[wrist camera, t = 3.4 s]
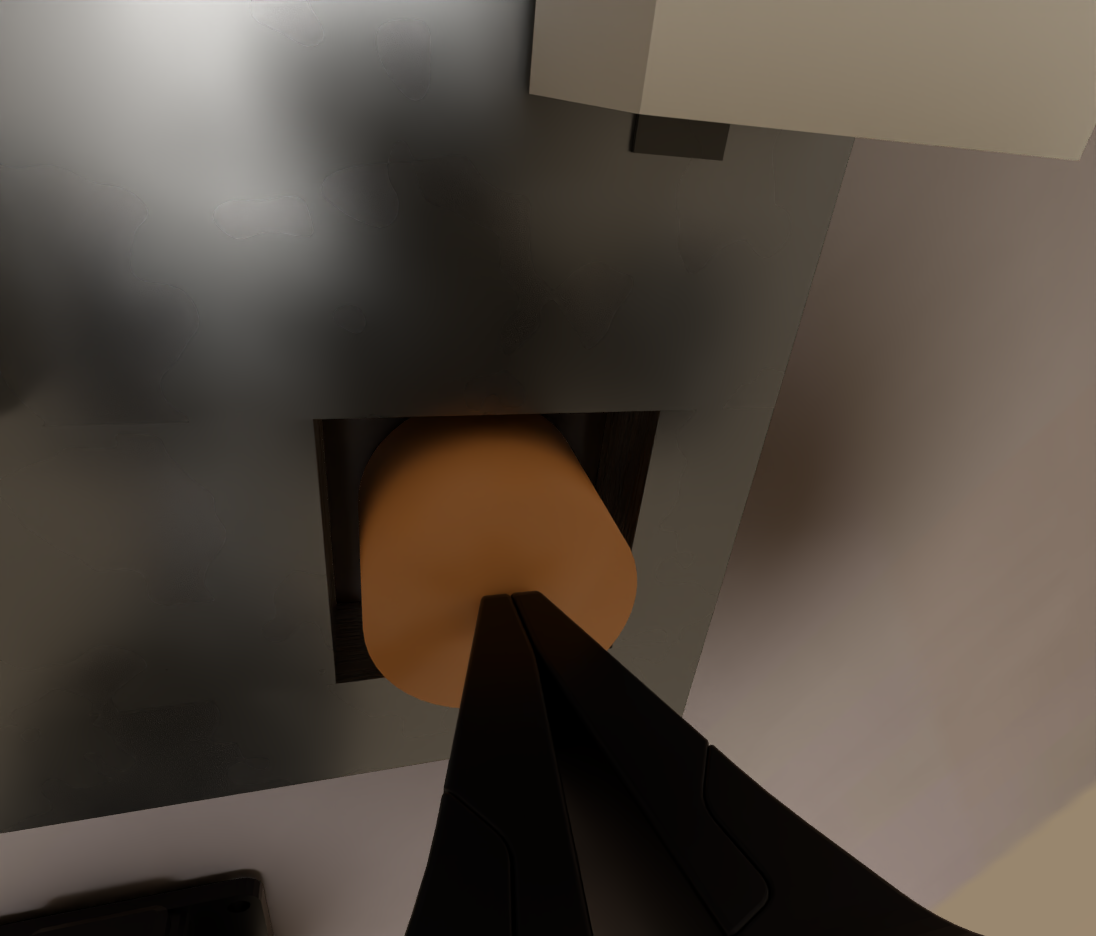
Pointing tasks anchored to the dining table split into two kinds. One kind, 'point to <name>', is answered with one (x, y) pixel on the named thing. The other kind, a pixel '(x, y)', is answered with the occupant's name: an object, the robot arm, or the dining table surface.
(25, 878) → the dining table surface
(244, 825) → the dining table surface
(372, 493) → the orange push button
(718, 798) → the robot arm
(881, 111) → the beige block
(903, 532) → the dining table surface
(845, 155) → the plate
